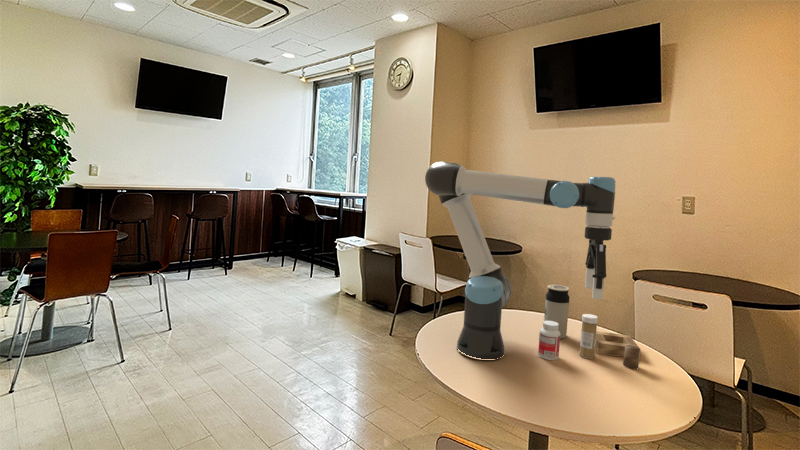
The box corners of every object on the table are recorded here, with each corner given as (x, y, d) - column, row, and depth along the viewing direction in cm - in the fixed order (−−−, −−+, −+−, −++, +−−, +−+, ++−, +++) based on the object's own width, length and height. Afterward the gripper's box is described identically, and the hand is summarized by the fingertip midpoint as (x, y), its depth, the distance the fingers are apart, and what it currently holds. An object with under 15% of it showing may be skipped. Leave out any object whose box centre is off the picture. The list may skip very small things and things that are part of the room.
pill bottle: (549, 351, 132) (552, 319, 130) (562, 359, 126) (565, 325, 125) (533, 353, 129) (536, 320, 128) (546, 361, 124) (549, 327, 123)
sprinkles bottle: (597, 357, 128) (601, 316, 127) (589, 360, 126) (592, 318, 125) (584, 352, 132) (587, 312, 131) (575, 354, 130) (579, 314, 128)
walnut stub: (625, 368, 122) (627, 349, 121) (621, 362, 125) (623, 344, 125) (639, 370, 120) (641, 351, 120) (636, 364, 124) (638, 346, 124)
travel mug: (568, 334, 148) (572, 286, 146) (563, 341, 141) (568, 291, 140) (545, 329, 152) (549, 283, 150) (540, 335, 146) (544, 287, 144)
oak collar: (597, 353, 132) (598, 343, 131) (591, 340, 143) (592, 330, 143) (638, 359, 128) (639, 348, 128) (628, 345, 140) (629, 335, 140)
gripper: (621, 231, 112) (615, 305, 114) (603, 224, 136) (598, 285, 138) (592, 229, 114) (586, 302, 116) (579, 222, 138) (575, 283, 140)
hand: (593, 293), depth 127 cm, fingers open, 13 cm apart
